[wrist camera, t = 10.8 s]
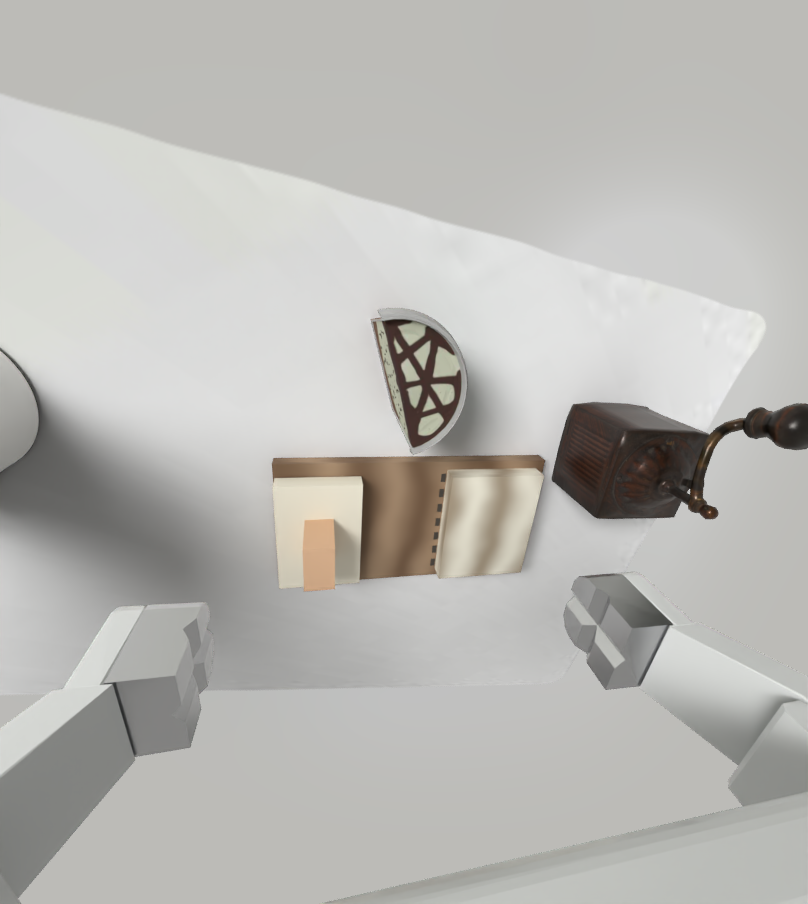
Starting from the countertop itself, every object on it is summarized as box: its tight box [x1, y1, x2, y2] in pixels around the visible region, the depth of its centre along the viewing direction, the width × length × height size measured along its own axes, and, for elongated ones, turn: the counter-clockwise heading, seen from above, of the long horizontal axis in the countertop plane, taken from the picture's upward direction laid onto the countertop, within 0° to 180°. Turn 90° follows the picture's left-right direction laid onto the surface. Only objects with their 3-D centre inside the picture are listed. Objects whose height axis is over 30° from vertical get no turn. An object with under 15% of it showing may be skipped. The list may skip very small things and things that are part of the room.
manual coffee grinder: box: [552, 402, 808, 519], centre depth 40 cm, size 16×11×18 cm
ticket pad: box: [272, 455, 545, 580], centre depth 46 cm, size 31×16×4 cm, turn 86°
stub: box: [272, 476, 363, 591], centre depth 41 cm, size 9×13×7 cm
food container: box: [370, 308, 468, 455], centre depth 35 cm, size 12×6×10 cm, turn 12°
